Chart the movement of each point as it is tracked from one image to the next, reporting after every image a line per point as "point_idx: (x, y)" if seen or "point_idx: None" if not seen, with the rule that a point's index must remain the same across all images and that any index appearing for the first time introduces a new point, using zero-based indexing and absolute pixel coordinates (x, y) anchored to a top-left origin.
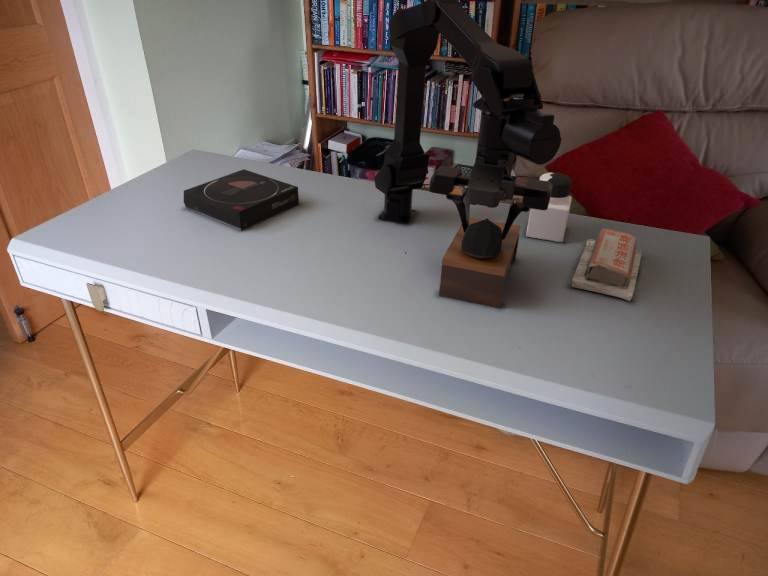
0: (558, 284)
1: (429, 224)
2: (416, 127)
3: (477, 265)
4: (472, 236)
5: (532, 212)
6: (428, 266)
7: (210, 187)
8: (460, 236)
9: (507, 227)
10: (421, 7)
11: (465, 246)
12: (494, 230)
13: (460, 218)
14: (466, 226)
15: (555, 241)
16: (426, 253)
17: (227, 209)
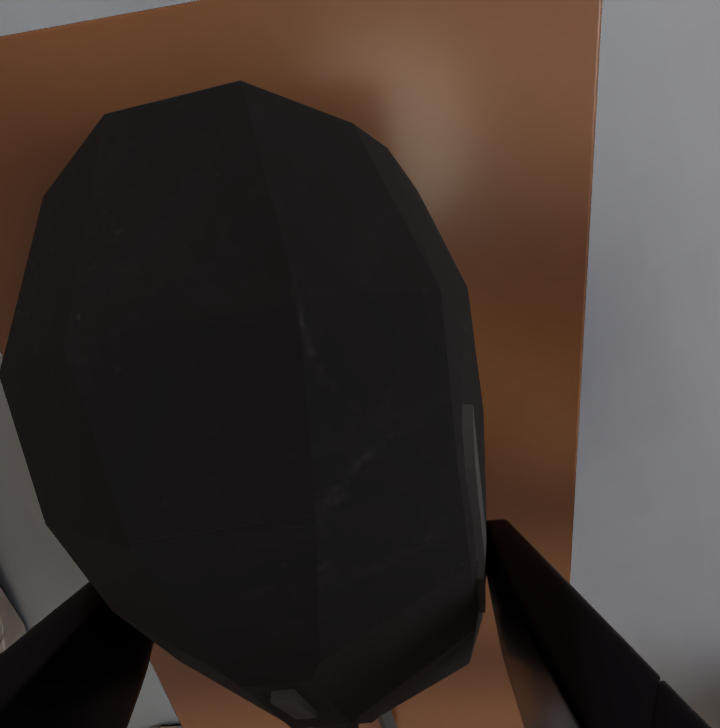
0: (5, 465)
1: (703, 674)
2: None
3: (162, 8)
4: (324, 324)
5: None
6: (634, 340)
7: None
8: (526, 499)
9: (13, 664)
10: None
11: (381, 185)
12: (101, 555)
13: (625, 642)
14: (502, 569)
15: (181, 726)
16: (671, 455)
17: None
